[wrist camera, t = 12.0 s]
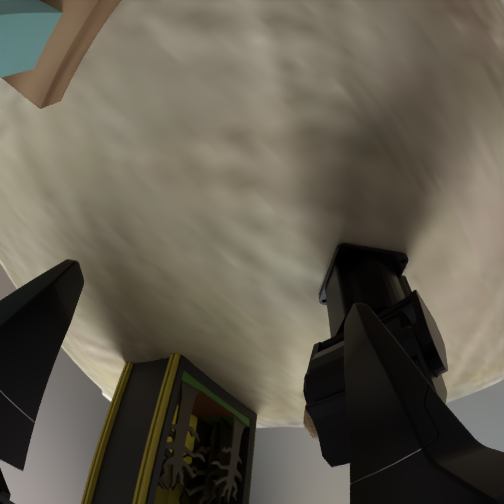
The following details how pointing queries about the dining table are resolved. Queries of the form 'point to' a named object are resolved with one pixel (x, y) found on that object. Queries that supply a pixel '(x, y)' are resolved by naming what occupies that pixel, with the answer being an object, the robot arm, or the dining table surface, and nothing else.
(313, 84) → the dining table surface
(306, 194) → the dining table surface
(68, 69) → the base brick
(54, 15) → the tall block
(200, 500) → the diorama
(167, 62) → the dining table surface
